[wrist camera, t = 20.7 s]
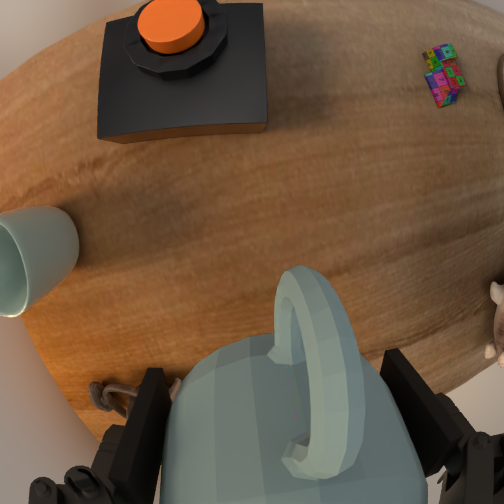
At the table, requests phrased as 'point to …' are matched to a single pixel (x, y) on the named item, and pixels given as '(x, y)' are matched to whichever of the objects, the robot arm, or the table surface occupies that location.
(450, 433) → the robot arm
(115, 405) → the grey machine part
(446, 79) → the block
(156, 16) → the button
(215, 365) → the mug
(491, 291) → the toy
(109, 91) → the control block
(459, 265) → the table surface
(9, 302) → the cup
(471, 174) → the table surface
